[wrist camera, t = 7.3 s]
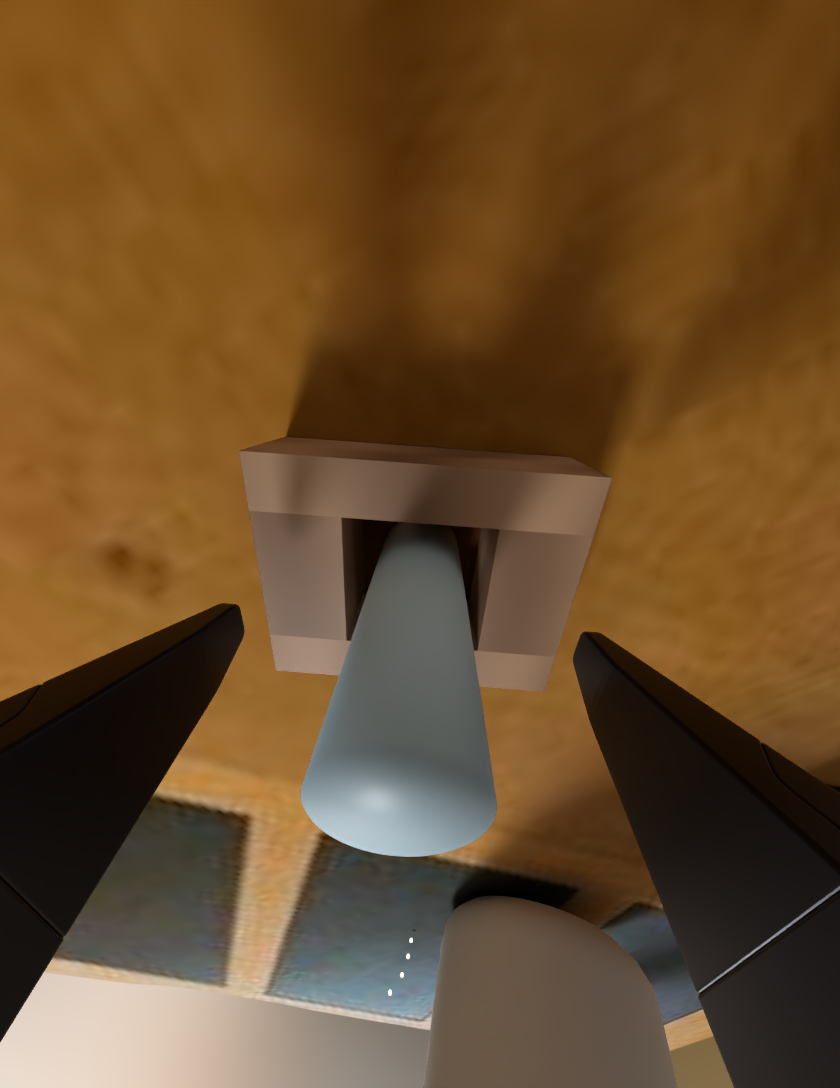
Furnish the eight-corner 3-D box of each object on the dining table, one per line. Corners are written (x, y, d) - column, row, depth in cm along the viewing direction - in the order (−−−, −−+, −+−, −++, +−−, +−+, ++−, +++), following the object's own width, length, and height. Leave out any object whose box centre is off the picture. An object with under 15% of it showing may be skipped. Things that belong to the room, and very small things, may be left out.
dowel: (462, 518, 13) (514, 754, 4) (453, 584, 14) (481, 863, 6) (384, 512, 13) (291, 735, 4) (383, 579, 14) (308, 848, 6)
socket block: (569, 457, 11) (612, 477, 9) (524, 636, 15) (544, 691, 12) (285, 436, 11) (238, 451, 9) (305, 619, 15) (275, 670, 12)
